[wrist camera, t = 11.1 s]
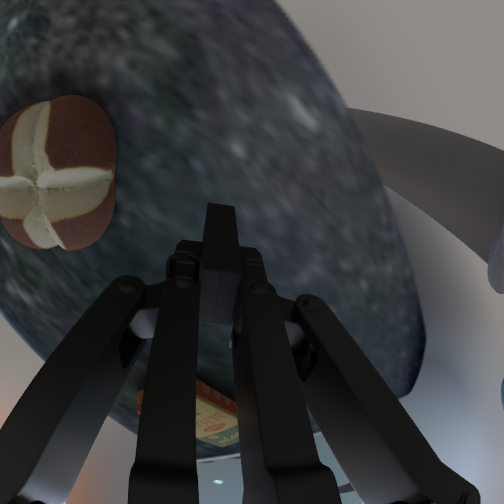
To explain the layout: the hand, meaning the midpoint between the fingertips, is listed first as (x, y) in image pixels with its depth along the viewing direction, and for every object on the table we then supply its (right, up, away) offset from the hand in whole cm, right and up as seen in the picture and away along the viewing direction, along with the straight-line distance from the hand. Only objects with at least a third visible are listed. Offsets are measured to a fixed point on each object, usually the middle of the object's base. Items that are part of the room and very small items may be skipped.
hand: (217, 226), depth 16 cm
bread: (-13, +5, +1) cm, 14 cm away
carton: (-4, -21, +17) cm, 27 cm away
